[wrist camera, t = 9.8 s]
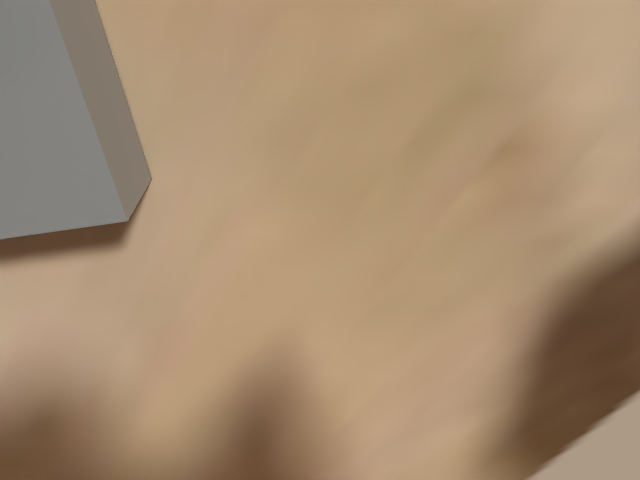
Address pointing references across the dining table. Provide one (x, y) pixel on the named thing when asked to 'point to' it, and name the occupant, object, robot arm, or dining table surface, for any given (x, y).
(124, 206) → the tile
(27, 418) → the dining table surface
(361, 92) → the dining table surface
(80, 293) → the dining table surface
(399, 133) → the dining table surface
